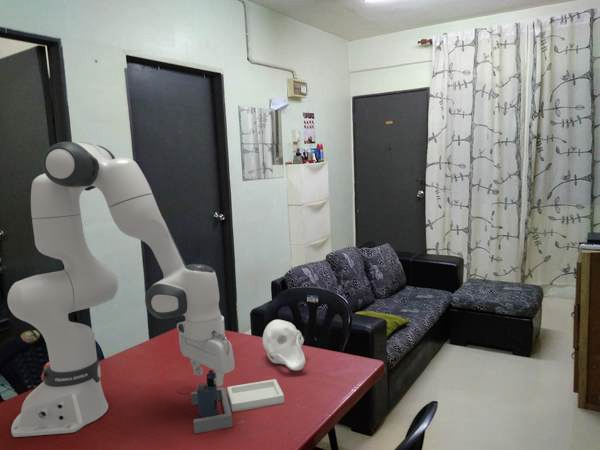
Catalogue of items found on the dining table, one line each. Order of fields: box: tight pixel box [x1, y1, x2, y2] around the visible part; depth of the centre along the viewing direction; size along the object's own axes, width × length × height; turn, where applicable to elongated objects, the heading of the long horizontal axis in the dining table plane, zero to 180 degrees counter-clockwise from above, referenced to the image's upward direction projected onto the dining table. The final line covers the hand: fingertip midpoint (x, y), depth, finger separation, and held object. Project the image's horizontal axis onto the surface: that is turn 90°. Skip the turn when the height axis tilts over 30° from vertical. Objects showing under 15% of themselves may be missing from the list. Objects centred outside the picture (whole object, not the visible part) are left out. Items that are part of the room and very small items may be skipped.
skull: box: [262, 319, 306, 371], centre depth 147 cm, size 13×14×20 cm
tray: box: [226, 378, 285, 413], centre depth 126 cm, size 14×10×2 cm
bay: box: [190, 386, 233, 435], centre depth 119 cm, size 9×15×3 cm, turn 16°
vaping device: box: [196, 369, 219, 418], centre depth 118 cm, size 3×5×12 cm, turn 78°
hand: (208, 379), depth 118 cm, fingers open, 8 cm apart
